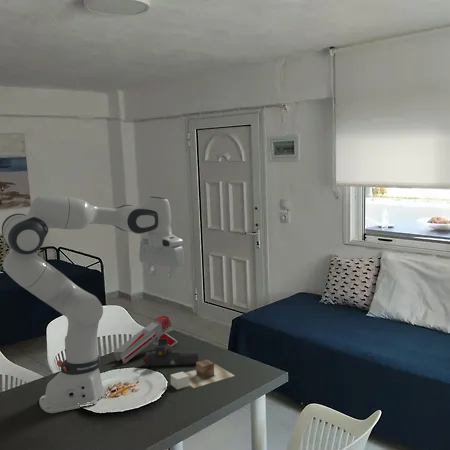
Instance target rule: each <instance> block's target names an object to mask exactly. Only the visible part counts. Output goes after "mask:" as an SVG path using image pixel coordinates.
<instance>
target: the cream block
mask: <svg viewBox="0 0 450 450" xmlns="http://www.w3.org/2000/svg"><path fill="white" fill-rule="evenodd" d="M185 373H186V372H184V371H178V372H176V373H172V374H170V385H171V386H172V387H173V388H174V389H176V390H180V389H184V388H188V387H190V385H189V376H188V375H187V374H185Z"/></svg>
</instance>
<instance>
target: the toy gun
mask: <svg viewBox="0 0 450 450" xmlns="http://www.w3.org/2000/svg"><path fill="white" fill-rule="evenodd" d="M171 325H172V323H171V320H170V318H169V316H165V315H160V316H158V317H155V318H153V321H151V323H149V324H148V325H146V326H145V327H144V328H143V329H141V330H140V331H138V332H137V333H136V334H135V335H134V336H132V337H131V338H130V339H128V340H127V341H126V342H124V343H123V344H121V346H119V347H118V348H116V349H115V350H113V354H114V357H115V358H116V361H117V362H119V361H120V360H122V363H123V365H125V364H127V363H128V362H130V360H132V359H133V358H134V357H135V356H137V355H138V354H139V353H140V352H142V351H143V350H145V348H146V347H148V346H149V345H150V344H152V345H154V346H158V342H159V340H158V339H168V347H172V348H173V346H175V345H177V343H179V341H178V340H176V339H175V338H174V337H172V336H171V335H169V334H168V333H167V332H166V331H167V330H168V329H169V328H171ZM156 339H157V340H156Z"/></svg>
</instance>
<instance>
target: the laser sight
mask: <svg viewBox="0 0 450 450" xmlns="http://www.w3.org/2000/svg"><path fill="white" fill-rule="evenodd" d="M157 341H159V342H158V344H157V346H155V350H152V351H145V354H144V355H145V356H143V359H142V360H143V363H144V365H145V367H147V368H149V367H151V368H153V367H163V366H164V367H167V366H168V367H169V366H172V367H173V366H184V365H185V366H189V365H191V366H192V365H195V366H196V362H199V361H200V353H199V352H200V351H199V350H195V351H193V350H192V351H191V350H190V351H184V350H183V351H181V349H174V350H173V346H172V347H169V346H168V339H157Z"/></svg>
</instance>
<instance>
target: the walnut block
mask: <svg viewBox="0 0 450 450" xmlns="http://www.w3.org/2000/svg"><path fill="white" fill-rule="evenodd" d="M214 365H215V363H214V362H212V361H210V360H209V359H203V360H199V362H196V365H195V368H196V369H195V370H196V374H197V375H198V376H199V377H201V378H202V379H205V378H209V377H212V376H214Z"/></svg>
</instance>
